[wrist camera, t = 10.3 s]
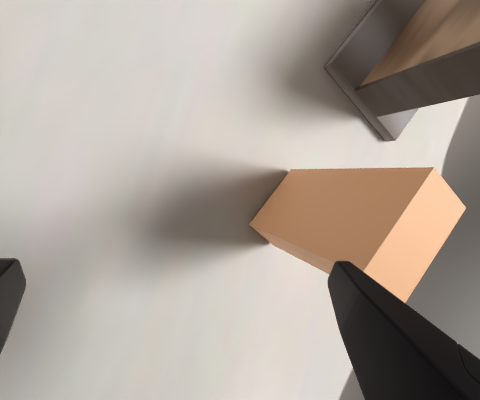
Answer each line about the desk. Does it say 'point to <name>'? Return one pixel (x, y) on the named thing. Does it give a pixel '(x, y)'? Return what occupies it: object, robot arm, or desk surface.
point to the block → (363, 220)
